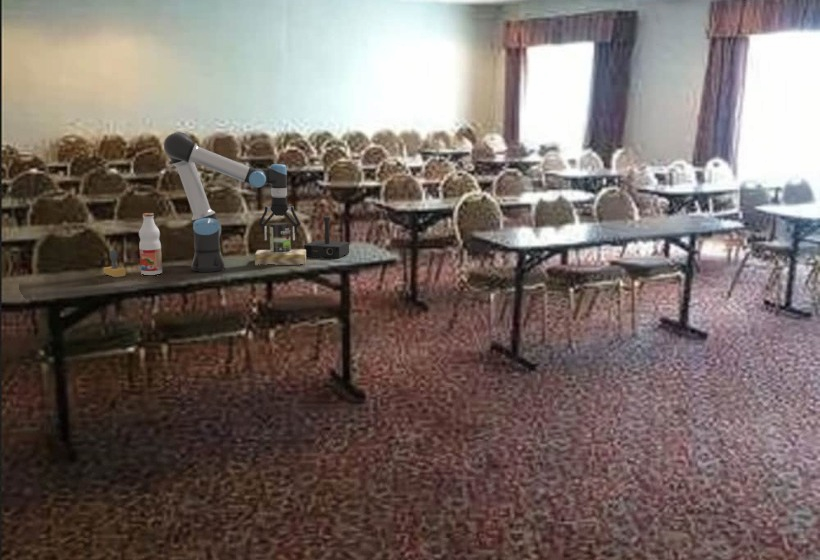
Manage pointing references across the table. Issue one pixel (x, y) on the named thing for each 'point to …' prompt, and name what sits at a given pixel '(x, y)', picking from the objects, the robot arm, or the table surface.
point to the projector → (327, 246)
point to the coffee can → (280, 238)
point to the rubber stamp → (114, 266)
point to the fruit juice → (150, 246)
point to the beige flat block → (281, 257)
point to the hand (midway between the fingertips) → (279, 239)
